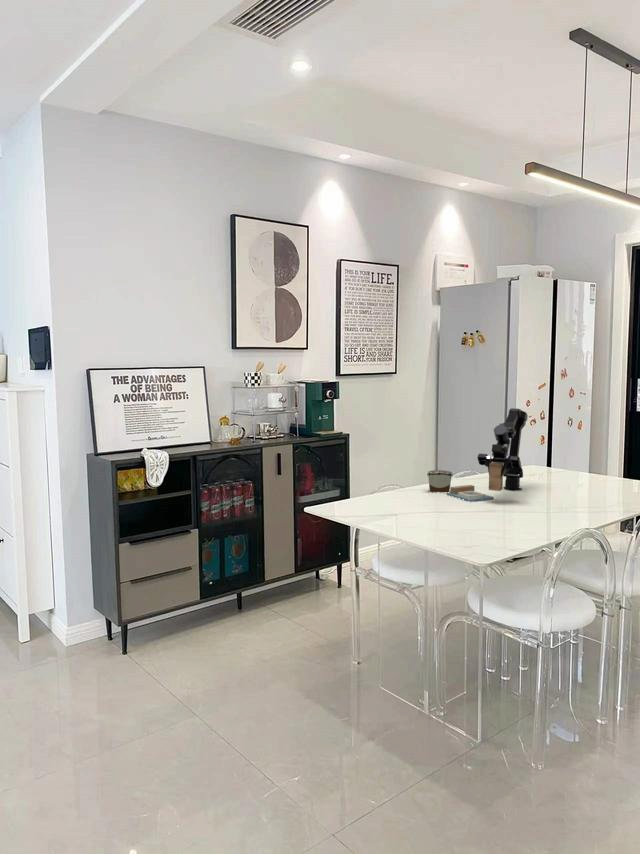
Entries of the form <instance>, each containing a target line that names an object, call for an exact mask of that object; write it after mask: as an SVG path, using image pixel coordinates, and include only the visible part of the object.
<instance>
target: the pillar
mask: <svg viewBox="0 0 640 854" xmlns="http://www.w3.org/2000/svg"><path fill="white" fill-rule="evenodd" d="M503 465H504V463H496V462H492V463H490V464H489V472H488V491H495V492H501V491H502V490H503V489H504V488H503V487H504V486H503V485H504V482H503V481H504V477H503V476H502V477H501V472H502V469H503Z"/></svg>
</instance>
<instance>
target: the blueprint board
mask: <svg viewBox="0 0 640 854" xmlns="http://www.w3.org/2000/svg"><path fill="white" fill-rule="evenodd" d="M446 495H447V496H449V495H450V496H449V497H452V496H454V497H453V498H455V497H457V498H456V499H458V498H460V499H459V500H462V499H464V500H463V501H465V500H467V501H466V502H468V501H474V502H478V501H477V500H482V501H487V500H486V499H490V500H494V498H495V497H494V496H492V495H488V494H485V493H482V492H478V491H475V485H473V484H472V485H471V484H466V485H457V486H450V491H449V493H446Z"/></svg>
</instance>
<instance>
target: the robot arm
mask: <svg viewBox="0 0 640 854" xmlns="http://www.w3.org/2000/svg"><path fill="white" fill-rule="evenodd" d="M527 421H528V413H527V412H526V411H524V410H521V408H515V407H514V408H510V409H509V411H508V414H507V417H506V419H505V421H504V422H503V423H499V425H496V426H495V427H494V428H493V434H494V437H495V441H496V443H495V444H492V445H491V452H492V453H491V455H492V456H493V457H491V456H490V455H488V453H479V454H477V461H478V464H479V465H481V466H485V467H486V468H487V471H488V473H489V464H490V463H492V462H496V463H503V469H502V472H501V477H502V476H503V478H505V483H504V485H505V486H503V489H505V490H509V491H518V490H523V488H522V487H520V482H521V479H522V478H524V471H523V467H522V461H521V458H520V456H519V454H520V447H521V437H522V429H523V428H524V427H525V426H526V423H527ZM507 456H508V457H507Z"/></svg>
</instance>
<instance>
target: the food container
mask: <svg viewBox="0 0 640 854" xmlns="http://www.w3.org/2000/svg"><path fill="white" fill-rule="evenodd" d="M427 477H428V489H429V493H437V492H450V487H451V482H452V477H453V472H452V471H450V470H445V469H444V470H442V469H439V470H438V469H435V470H434V469H433V470H428V472H427Z"/></svg>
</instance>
